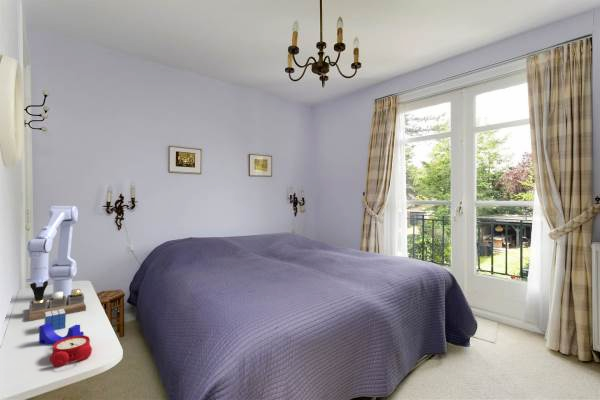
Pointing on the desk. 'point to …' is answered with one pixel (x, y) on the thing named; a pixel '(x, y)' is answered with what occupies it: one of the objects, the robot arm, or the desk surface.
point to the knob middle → (57, 295)
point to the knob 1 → (38, 301)
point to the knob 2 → (75, 292)
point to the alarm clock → (70, 350)
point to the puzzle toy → (56, 318)
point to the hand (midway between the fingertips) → (38, 300)
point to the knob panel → (56, 306)
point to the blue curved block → (51, 337)
